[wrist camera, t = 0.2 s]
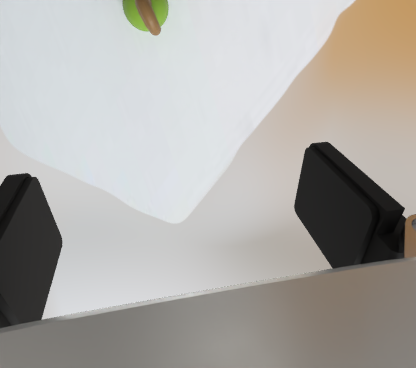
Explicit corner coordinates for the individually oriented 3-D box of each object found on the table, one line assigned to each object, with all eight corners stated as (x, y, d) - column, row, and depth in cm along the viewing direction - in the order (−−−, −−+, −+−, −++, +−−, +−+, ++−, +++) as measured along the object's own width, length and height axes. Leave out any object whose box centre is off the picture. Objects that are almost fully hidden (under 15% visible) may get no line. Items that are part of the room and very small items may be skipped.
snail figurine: (148, -39, 36) (152, -45, 26) (173, 15, 40) (185, 28, 30) (110, -17, 37) (99, -14, 27) (138, 35, 40) (138, 54, 31)
